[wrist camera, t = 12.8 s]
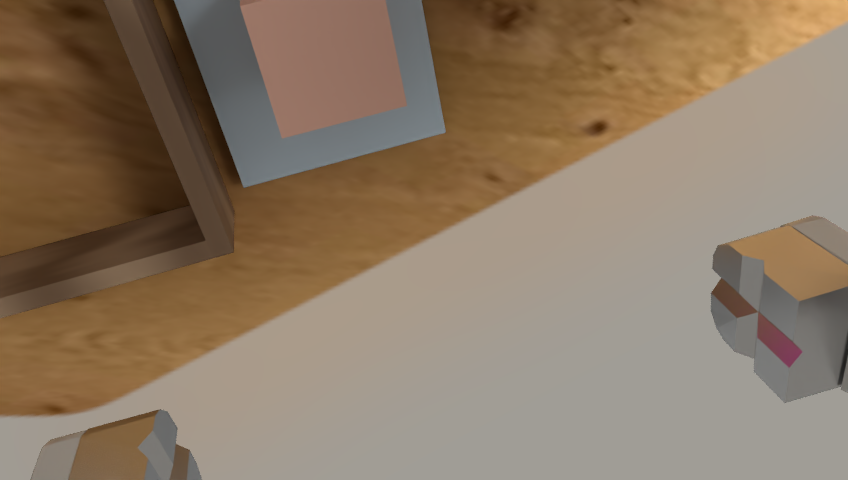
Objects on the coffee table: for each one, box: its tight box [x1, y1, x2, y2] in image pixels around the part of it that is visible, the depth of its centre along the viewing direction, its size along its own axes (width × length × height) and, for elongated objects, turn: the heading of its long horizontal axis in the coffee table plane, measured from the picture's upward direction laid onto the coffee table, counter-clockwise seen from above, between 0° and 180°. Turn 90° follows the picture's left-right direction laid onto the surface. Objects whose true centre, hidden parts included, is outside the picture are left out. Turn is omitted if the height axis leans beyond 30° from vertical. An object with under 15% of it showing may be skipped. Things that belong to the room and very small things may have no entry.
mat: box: [174, 0, 446, 188], centre depth 32 cm, size 11×15×1 cm
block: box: [240, 0, 407, 139], centre depth 28 cm, size 5×5×8 cm
